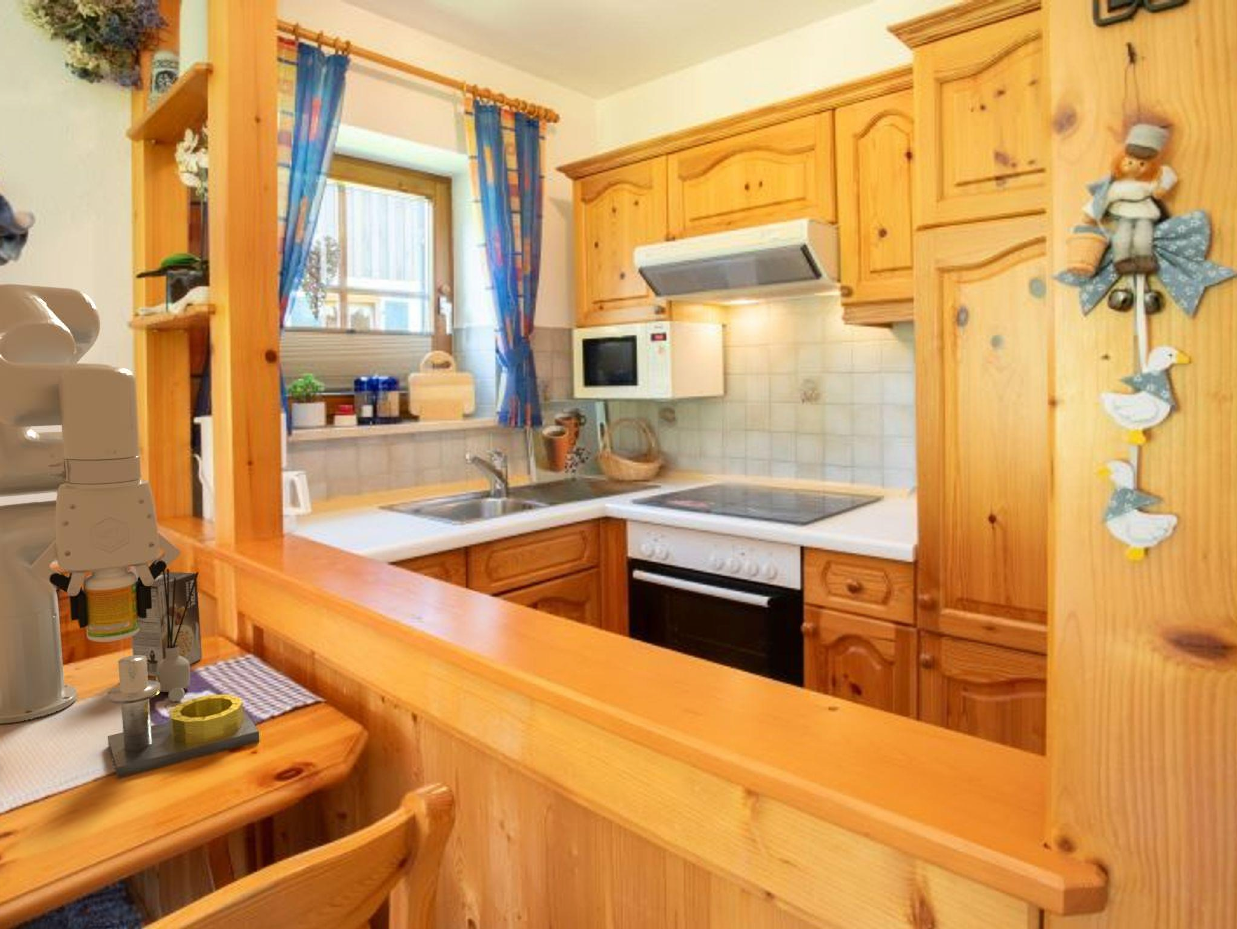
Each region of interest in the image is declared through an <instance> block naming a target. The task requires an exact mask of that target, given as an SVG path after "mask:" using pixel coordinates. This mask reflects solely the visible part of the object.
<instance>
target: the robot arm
mask: <svg viewBox="0 0 1237 929" xmlns="http://www.w3.org/2000/svg"><path fill="white" fill-rule="evenodd" d="M100 318H101V317H100V315H99V311H98V308H97V306H96V304H95V303H94V301H93V300H92V299H91V298H90V297H89V296H88V295H87V294H85V293H84V292H82V291H80V290H78V289H73V288H69V287H68V288H67V287H53V286H40V285H26V284H15V283H14V284H11V283H10V284H9V283H8V284H7V283H6V284H0V498H1V497H2V498H4V497H5V498H6V497H15V496H27V495H39V494H48V493H57V494H56V499H55V500H54V499H53V500H47V501H46V500H45V501H34V502H33V501H31V502H22V503H12V504H3V505H0V724H11V723H12V724H13V723H19V722H25V721H29V720H28V719H30V720H34V719H33V718H35V717H39V716H42V717H45V716H47V715H46V714H49V715H50V714H51V713H52V714H54V713H57V712H59V711H61V710H64V709H65V708H67V707H69V706H70V705H72V704H73V703H74V702H75V701H76V700H77V698H78V691H77V689H76V688H75V686H73V685H69V684H65V676H64V664H63V652H62V650H63V649H62V641H61V640H62V638H61V626H60V612H59V602H58V593H57V591H56V588H55V587H57V588H59V589H60V590H62V591H64V592H65V593H67V594H68V595H67V596H69V608H70V619H71V621H77V623H78V626H79V629H84V628H85V629H86V626H87V617H86V601H85V594H84V589H83V587H82V586H83V583H84V580H85V579H84V578H85V576H86V573H89V572H90V573H92V572H91V571H100V570H108V569H116V568H125V567H128V568H132V567H134V569H135V572H136V574H137V575H138V577H136V580H137V598H138V615H139V618H142V619H143V618H147V613H146V609H152V599H151V585H152V584H153V582H154V580H155V579H156V578H157V577H158V576H159V575H160V574H161V573H163V571H164V570H167V567H169V566H170V565H171V564H172V563H173V562H174V561H175V560H177V558H179V557H180V556H181V551H180V549H179V548H178V547H177V546H175V545H174V544H173V543H172V542H171V541H169V539H167V538H166V537H165V536H163V535H162V534H161V533H160V532H159V529H158V521H157V520H158V518H157V513H156V505H155V500H154V495H153V491H152V487H151V485H150V481H148V480H145V479H142V471H141V468H142V467H141V455H140V454H141V453H140V434H139V417H138V414H139V413H138V400H137V399H138V398H137V384H136V377H135V375H134V374H133V373H132V371H130V370H129V369H127V368H124V367H118V366H115V367H114V366H112V365H109V364H103V363H78V362H79V361H80V360H81V359H82V358H83V357H84V356H85V355H86V354H87V353H88V352H89V351H90V349H92V347H93V346H94V344H95V343H96V341H97V340H98V337H99V335H100V330H101V320H100ZM44 426H45V427H48V426H49V427H50V426H51V427H52V426H61V431H49V432H45V431H43V432H35V431H34V430H33V429H32V427H44ZM160 549H161V551H163V552H162V554H161V556H160ZM159 556H160V557H159ZM55 562H57V565H58V567H59V569H61V570H62V572H66V573H68V576H67V575H65V574H63V573H62V572H60V571H59V570H56V569H54V568H53V567H51V564H52V563H55ZM148 564H150V565H149V566H148ZM56 711H57V712H56ZM44 715H45V716H44ZM39 718H40V717H39ZM35 719H36V718H35ZM24 720H25V721H24Z"/></svg>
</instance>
